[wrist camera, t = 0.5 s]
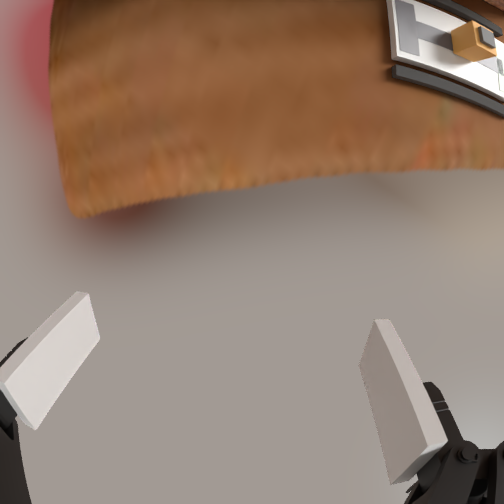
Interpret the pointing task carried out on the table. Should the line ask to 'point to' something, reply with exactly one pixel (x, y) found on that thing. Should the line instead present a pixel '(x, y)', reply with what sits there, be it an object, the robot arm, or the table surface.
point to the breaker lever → (473, 42)
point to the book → (496, 3)
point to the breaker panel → (440, 46)
